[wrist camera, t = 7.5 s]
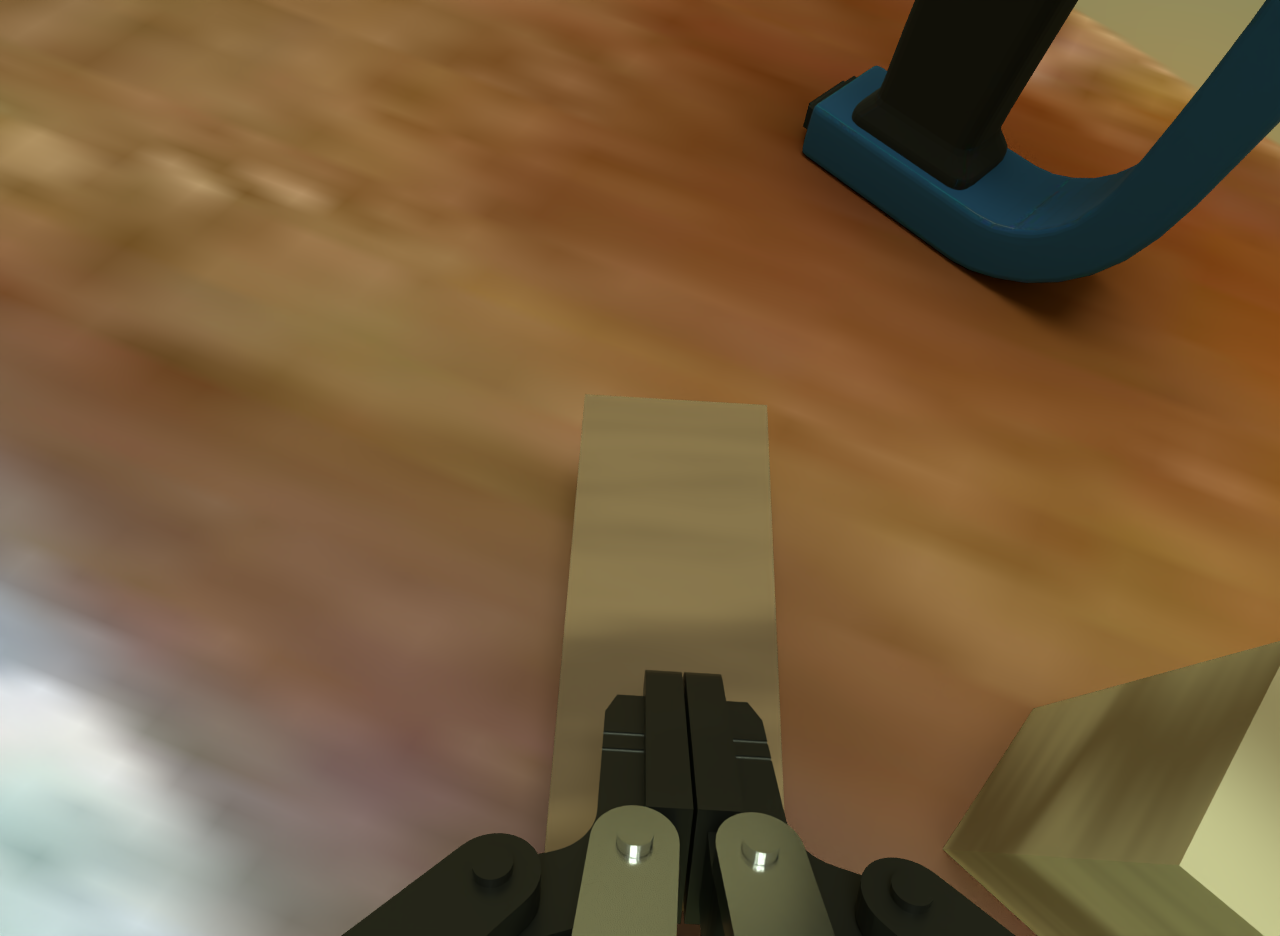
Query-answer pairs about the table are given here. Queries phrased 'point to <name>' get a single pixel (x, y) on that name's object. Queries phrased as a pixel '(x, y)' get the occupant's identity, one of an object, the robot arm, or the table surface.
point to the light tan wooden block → (663, 576)
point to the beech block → (1140, 808)
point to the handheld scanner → (1001, 179)
